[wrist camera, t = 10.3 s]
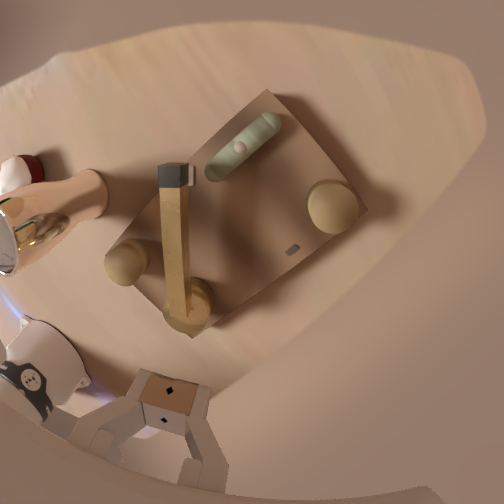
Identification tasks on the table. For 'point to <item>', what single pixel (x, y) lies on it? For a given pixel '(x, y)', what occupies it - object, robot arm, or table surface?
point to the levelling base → (244, 210)
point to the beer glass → (46, 216)
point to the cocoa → (20, 172)
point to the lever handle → (180, 254)
